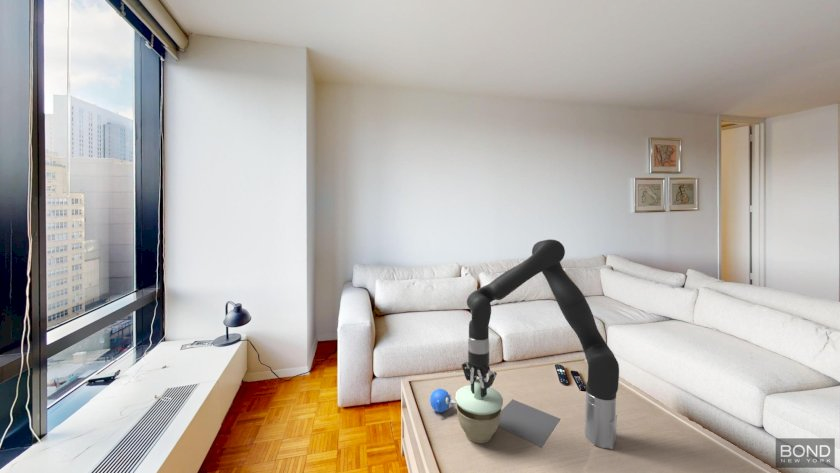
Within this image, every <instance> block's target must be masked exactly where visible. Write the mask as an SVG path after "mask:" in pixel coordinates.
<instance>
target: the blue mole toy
mask: <svg viewBox="0 0 840 473" xmlns="http://www.w3.org/2000/svg"><path fill="white" fill-rule="evenodd" d="M429 402H430V406H431V407H432V409H433V410H434V412H435V411H436V413H444V412H446V411H447V410H448V409H451V408H452V407H454V406H456V404H457V403H456V400H453V399H452V398H451V394H450V393H449V391H447V390H446V389H443V388H437V389H434V390H433V391H432V392H431V395H430V398H429Z"/></svg>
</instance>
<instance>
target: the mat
mask: <svg viewBox="0 0 840 473" xmlns="http://www.w3.org/2000/svg"><path fill="white" fill-rule="evenodd" d="M560 421H561V418H560V417H557V416H555V415H553V414H550V413H547V412H545V411H543V410H540V409H537V408H535V407H532V406H530V405H528V404H525V403H523V402H520V401H518V400H515V399H511V400H510V401H508V403H507V404H506V405H505V406H504V407H503V408H501V415H500V422H499V426H498V428H500V429H502V430H504V431H506V432H507V433H510V434H512V435H514V436H516V437H518V438H520V439H523V440H525V441H527V442H529V443H531V444H533V445H534V446H537V447H538V448H542V447H543V446H544V445H545V443H546V441H547V440H548V438H549V437H550V435H551V434H552V432H553V431H554V430H555V428H556V427H557V426H558V423H559V422H560Z"/></svg>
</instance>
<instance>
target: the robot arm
mask: <svg viewBox="0 0 840 473" xmlns="http://www.w3.org/2000/svg"><path fill="white" fill-rule="evenodd" d="M565 255H566V249H565V246H564V244H562V243H561V242H560V241H558V240H556V239H544V240H540V241H537V242H536V243H535V244H533V246H532V249H531V256H528V258H527V259H525V260H524V261H522V262H520V263H519V264H517V265H515V266H514V267H512V268H509V269H508V270H507V271H505V272H503V273H501V274H500V275H499V276H497V277H496V278H495V279H494V280H492V281H491V282H490V283H488V284H486V285H483V286H482V287H480V288H477V289H476V290H474V291H473V292H471V293H470V294H469V295H468V297H467V300H466V305H467V307H468V309H469V310H470V311H471V320H470V321H469V323H468V338H467V340H468V341H467V359H468V360H467V361H464V362H463V363H462V364H461V369H462V371H463V373H464V378H465V379H466V381H469V383H470V385H471V391H472V393H473V394H474V381H475V380H476V379H479V381H480V382H481V397H482V398H483V397H485V396H486V395H487V388H489V387H492V386H493V383H494V382H495V379H496V377H497V375H498V373H497V372H496V371H494V372H493V370H491V369H490V368H491V367H490V338H489V334H490V333H489V325H490V321H491V315H492V305H491V303H492V302H493V301H495V300H496V301H500V300H503V299H504V298H506V297H507V296H508V295H510V294H511V293H513V292H514V291H516V290H517V289H518V288H519V287H521V286H522V285H523V284H525V283H527V281H529V280H530V279H532V278H533V277H535V276H536V275H538V274H540V273H542V275H543V276H544V278H545V279H546V281H547V284H548V285H549V288H550V290H551V292H552V294H553V296H554V298H555V300H556V303H557V305H558V306H559V309H560V311H561V313H562V315H563V317H564V318H565V320H566V322H567V324H569V326H570V328H571V329H572V330H573V331H574V333H575V335H576V336H577V338H578V340H579V342H580V345H581V348H582V349H583V352H584V355H585V359H586V360H585V361H586V362H587V381H586V384H585V386H586V388H585V419H584V426H585V427H584V435H585V438H586V439H587V441H588V442H590V443H591V444H593V445H594V446H596V447H599V448H602V449H610V450H614V447H615V445H616V442H617V421H618V415H617V414H616V410H617V392H618V390H619V381H620V379H619V378H620V365H619V361H618V360H617V358H616V356H615V354H614V352H613V351H612V350H611V348H610V347H609V345H608V344H607V343H606V341H605V339H604V338H603V336H602V334H601V333H600V331H599V328H598V327H597V324H596V320H595V316H594V315H593V312H592V309H591V308H590V307H591V306H590V305H589V302H588V301H587V299H586V297H585V295H584V294H583V292H582V291H581V289H580V288H579V287H578V285H577V284H576V283H575V282H574V281H573V280H572V279H571V278H570V276H568V275H567V273H566V272H565V270H564V268H563V266H562V263H561V262H562V260H563V259H564V257H565Z"/></svg>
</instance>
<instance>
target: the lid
mask: <svg viewBox="0 0 840 473" xmlns="http://www.w3.org/2000/svg"><path fill="white" fill-rule="evenodd" d="M454 401H455V402H456V403H457V405H458V406H459V407H460V408H462V409H463V410H465V411H467V412H469V413H473V414H478V415H488V414H492V413H495V412H497V411H499V410H500V409H501V410H502V409H503V408H502V407H503V405H504V398H503V396H502V394H501V393H500V392H499V391H498V390H496V389H494V388H493V387H492V386H490V387H489V388H487V395H486V396H485V397H483V398H482V397H481V382H480V381H479V378H477V379H476V380H475V381H474V394H473V393H472V391H471V384H468V385H465V386H464V385H463V386H462V387H460V388H458V390H457V391H456V392H455V400H454Z"/></svg>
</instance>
